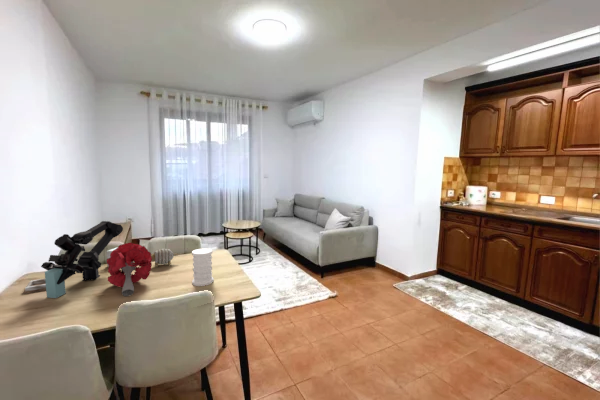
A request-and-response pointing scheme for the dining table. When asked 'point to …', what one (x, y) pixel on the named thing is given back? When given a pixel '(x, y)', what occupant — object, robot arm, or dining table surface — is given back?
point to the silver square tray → (35, 286)
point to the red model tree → (128, 266)
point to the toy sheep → (162, 256)
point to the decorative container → (202, 267)
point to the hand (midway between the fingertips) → (52, 283)
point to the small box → (109, 253)
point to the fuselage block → (54, 283)
